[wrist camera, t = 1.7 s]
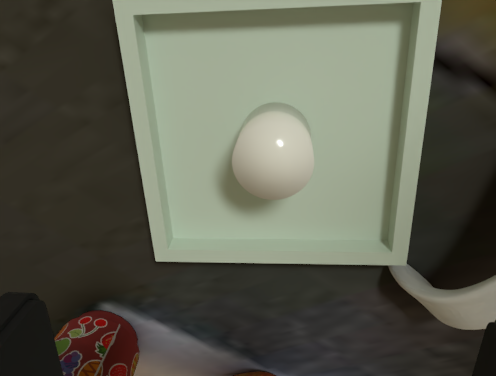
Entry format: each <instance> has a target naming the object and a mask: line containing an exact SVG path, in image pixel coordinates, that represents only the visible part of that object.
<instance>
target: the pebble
mask: <svg viewBox="0 0 496 376" xmlns="http://www.w3.org/2000/svg"><path fill="white" fill-rule="evenodd" d="M232 167H233V171H234V174H235V177H236V179H237V180H238V182H239V183H240V185H241V186H242V187H243V188H244V189H245V190H247V191H248V192H249V193H251V194H253V195H254V196H257V197H259V198H263V199H268V200H279V199H284V198H288V197H290V196H293V195H295V194H296V193H298V192H299V191H300V190H302V189H303V188H304V187H305V186H306V184H307V183H308V182H309V180H310V178H311V176H312V173H313V169H314V153H313V146H312V138H311V131H310V126H309V124H308V122H307V120H306V118H305V117H304V115H303V114H302V113H301V112H300V111H299V110H297V109H296V108H294V107H293V106H290V105H288V104H285V103H279V102H273V103H267V104H264V105H261V106H259V107H257V108H256V109H254V110H253V111H252V112H251V113H250V114H249V115H248V116H247V117H246V119H245V121H244V123H243V125H242V128H241V131H240V134H239V136H238V139H237V142H236V145H235V148H234V151H233V155H232Z"/></svg>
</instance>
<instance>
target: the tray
mask: <svg viewBox="0 0 496 376" xmlns="http://www.w3.org/2000/svg"><path fill="white" fill-rule="evenodd" d="M441 3H442V0H113V6H114V12H115V18H116V24H117V31H118V37H119V43H120V49H121V55H122V61H123V67H124V73H125V79H126V85H127V91H128V97H129V103H130V109H131V115H132V121H133V127H134V133H135V139H136V146H137V152H138V158H139V164H140V170H141V176H142V182H143V188H144V194H145V200H146V206H147V212H148V218H149V224H150V230H151V236H152V242H153V248H154V254H155V261H156V262H217V263H279V264H340V265H402V266H406V264H407V256H408V249H409V241H410V234H411V226H412V219H413V211H414V204H415V197H416V189H417V182H418V174H419V167H420V159H421V152H422V144H423V137H424V129H425V122H426V115H427V107H428V100H429V92H430V85H431V77H432V70H433V62H434V55H435V47H436V40H437V33H438V25H439V18H440V10H441ZM273 102H279V103H285V104H288V105H290V106H293V107H294V108H296V109H297V110H299V111H300V112H301V113H302V114H303V115H304V117H305V118H306V120H307V122H308V124H309V126H310V131H311V138H312V146H313V153H314V169H313V173H312V176H311V178H310V180H309V182H308V183H307V184H306V186H305V187H304V188H303V189H302V190H300V191H299V192H298V193H296V194H295V195H293V196H290V197H288V198H284V199H279V200H268V199H263V198H259V197H257V196H254V195H253V194H251V193H249V192H248V191H247V190H245V189H244V188H243V187H242V186H241V185H240V183H239V182H238V180H237V179H236V177H235V174H234V171H233V167H232V155H233V151H234V148H235V145H236V142H237V139H238V136H239V134H240V131H241V128H242V125H243V123H244V121H245V119H246V117H247V116H248V115H249V114H250V113H251V112H252V111H253V110H254V109H256V108H257V107H259V106H261V105H264V104H267V103H273Z"/></svg>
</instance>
